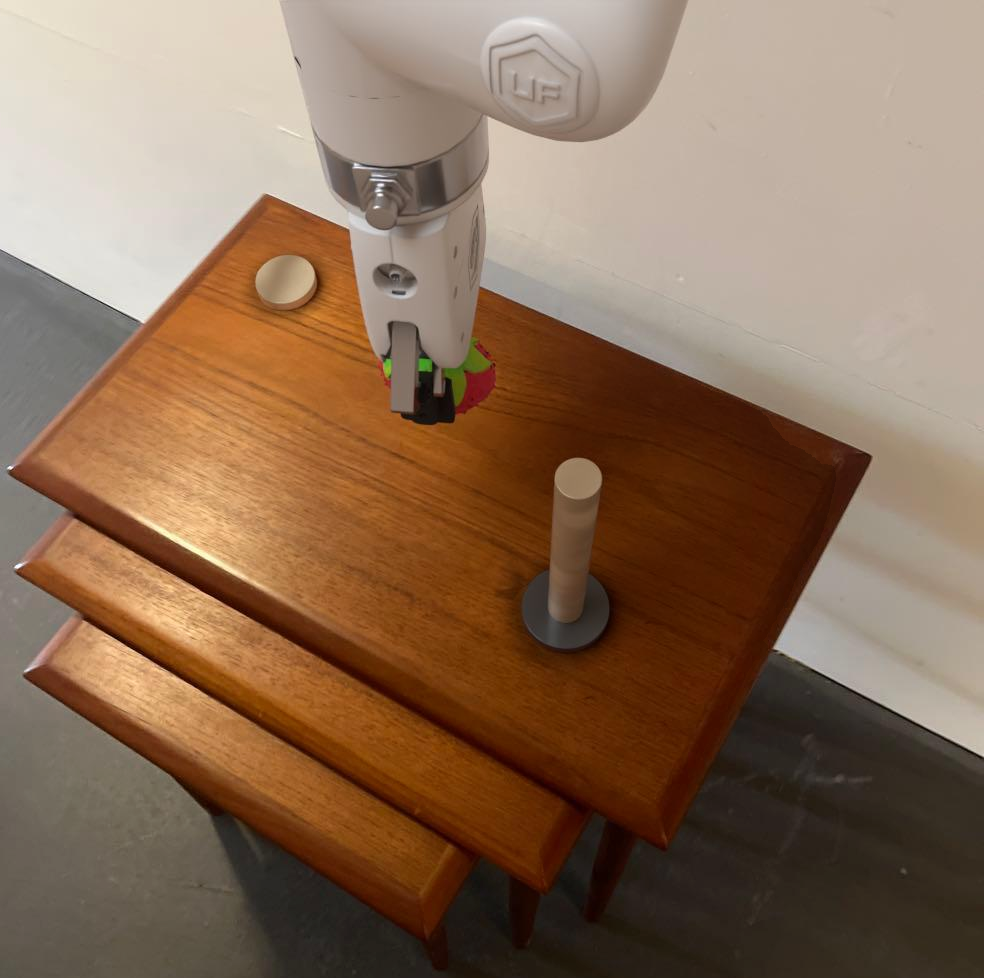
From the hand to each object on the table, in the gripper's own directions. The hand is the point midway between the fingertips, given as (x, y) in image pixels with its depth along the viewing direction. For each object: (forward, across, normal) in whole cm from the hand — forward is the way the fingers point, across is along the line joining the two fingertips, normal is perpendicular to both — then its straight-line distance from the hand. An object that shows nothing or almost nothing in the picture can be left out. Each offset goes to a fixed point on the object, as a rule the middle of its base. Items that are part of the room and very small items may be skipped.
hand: (437, 367), depth 59 cm
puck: (+15, +17, +16) cm, 28 cm away
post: (+15, -9, -9) cm, 20 cm away
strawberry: (+5, 0, 0) cm, 5 cm away
